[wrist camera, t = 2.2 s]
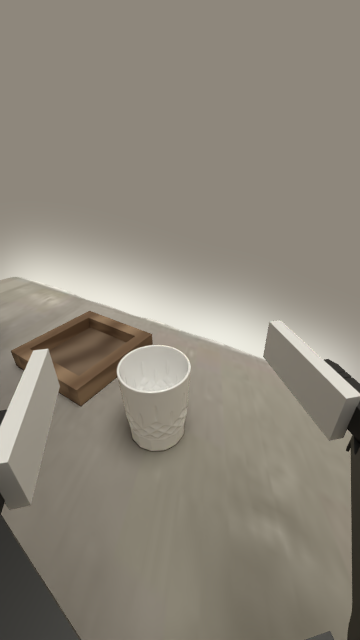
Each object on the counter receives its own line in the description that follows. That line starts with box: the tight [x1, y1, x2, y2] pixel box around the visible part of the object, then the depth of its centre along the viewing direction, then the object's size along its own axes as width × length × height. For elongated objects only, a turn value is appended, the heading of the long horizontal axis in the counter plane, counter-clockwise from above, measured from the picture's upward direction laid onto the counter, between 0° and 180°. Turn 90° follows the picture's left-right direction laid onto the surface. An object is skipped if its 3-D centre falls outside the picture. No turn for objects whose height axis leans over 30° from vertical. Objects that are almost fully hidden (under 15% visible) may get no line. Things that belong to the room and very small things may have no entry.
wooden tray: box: [11, 311, 152, 406], centre depth 46 cm, size 16×16×3 cm
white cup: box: [117, 345, 191, 451], centre depth 32 cm, size 8×8×10 cm
